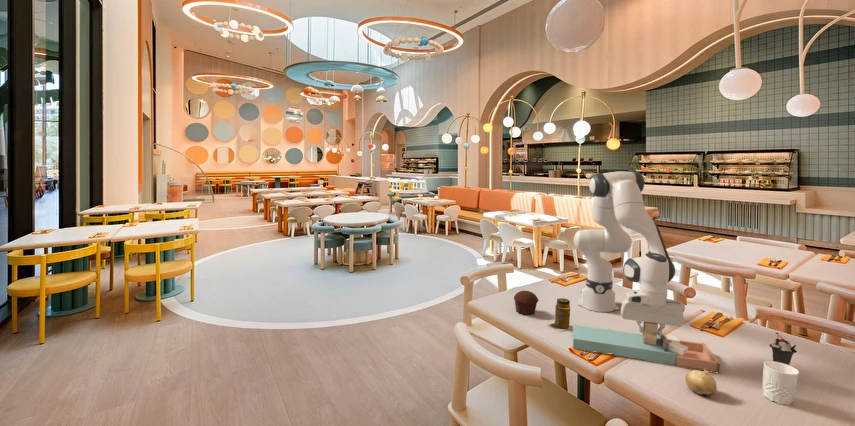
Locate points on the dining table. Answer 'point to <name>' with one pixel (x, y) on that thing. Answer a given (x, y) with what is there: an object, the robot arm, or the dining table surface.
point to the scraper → (653, 336)
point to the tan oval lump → (701, 382)
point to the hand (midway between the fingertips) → (649, 333)
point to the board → (619, 344)
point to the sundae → (782, 350)
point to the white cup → (779, 381)
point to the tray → (697, 357)
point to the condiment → (562, 315)
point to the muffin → (525, 302)
